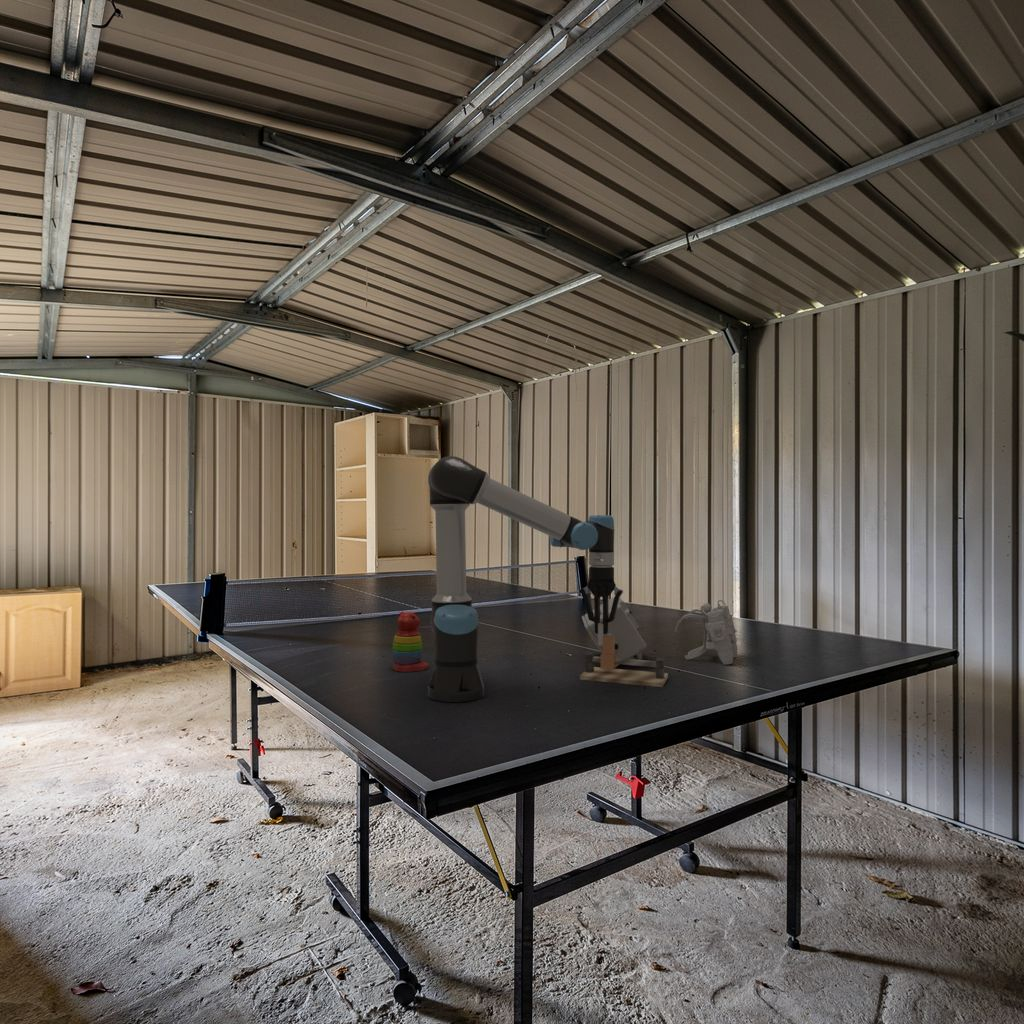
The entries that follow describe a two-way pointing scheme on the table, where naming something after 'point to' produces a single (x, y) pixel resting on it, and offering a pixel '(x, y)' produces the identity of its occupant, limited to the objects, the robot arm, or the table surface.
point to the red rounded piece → (408, 645)
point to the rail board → (625, 672)
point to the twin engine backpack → (715, 632)
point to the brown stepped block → (608, 653)
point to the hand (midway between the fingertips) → (601, 644)
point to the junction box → (619, 631)
